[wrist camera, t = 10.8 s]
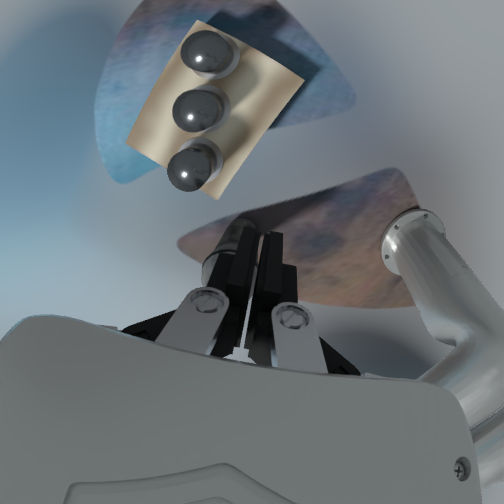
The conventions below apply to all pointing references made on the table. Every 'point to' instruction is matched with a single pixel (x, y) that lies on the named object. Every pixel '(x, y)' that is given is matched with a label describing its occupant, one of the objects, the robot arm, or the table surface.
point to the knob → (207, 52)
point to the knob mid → (197, 110)
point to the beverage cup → (228, 249)
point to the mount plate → (235, 115)
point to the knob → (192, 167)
